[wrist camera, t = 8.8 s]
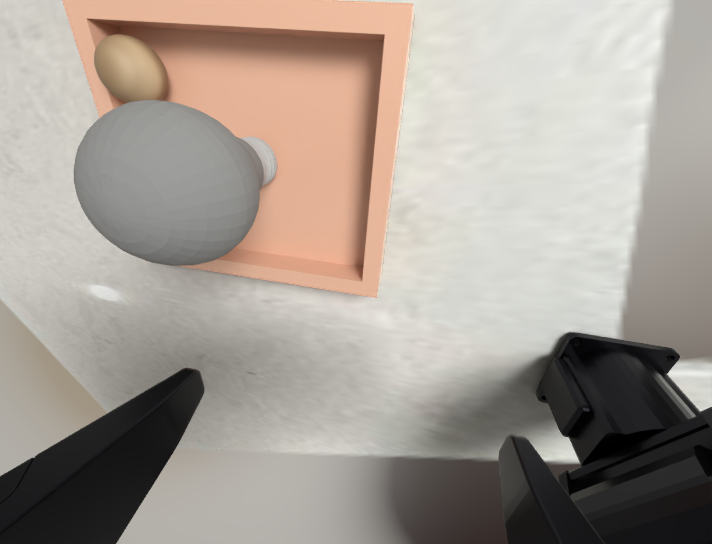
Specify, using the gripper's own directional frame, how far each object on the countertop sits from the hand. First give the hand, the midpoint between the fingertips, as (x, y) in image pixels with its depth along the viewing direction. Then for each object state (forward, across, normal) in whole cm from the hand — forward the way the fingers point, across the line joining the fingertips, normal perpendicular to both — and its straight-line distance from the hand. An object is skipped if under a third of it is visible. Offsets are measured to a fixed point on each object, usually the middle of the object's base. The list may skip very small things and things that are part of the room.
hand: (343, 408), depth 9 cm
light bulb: (+12, +8, -4) cm, 15 cm away
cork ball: (+12, +14, -8) cm, 20 cm away
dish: (+12, +8, -4) cm, 15 cm away
